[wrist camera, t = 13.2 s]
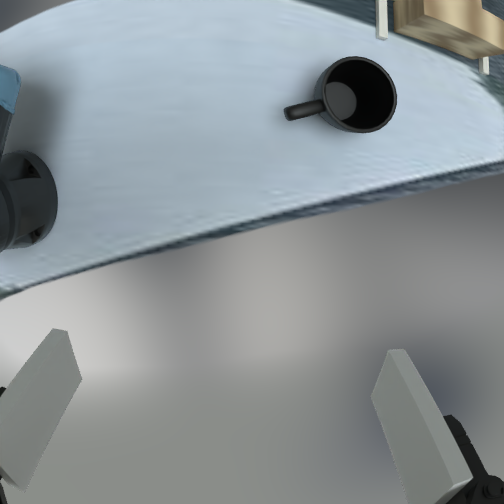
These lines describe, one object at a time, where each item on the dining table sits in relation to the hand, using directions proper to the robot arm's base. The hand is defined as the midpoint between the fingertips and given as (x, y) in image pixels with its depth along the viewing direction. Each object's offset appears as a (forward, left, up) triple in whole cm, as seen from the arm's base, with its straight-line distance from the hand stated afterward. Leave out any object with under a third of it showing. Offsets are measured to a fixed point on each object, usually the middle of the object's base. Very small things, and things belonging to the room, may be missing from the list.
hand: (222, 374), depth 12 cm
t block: (+26, +33, -32) cm, 53 cm away
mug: (+10, +13, -32) cm, 36 cm away
